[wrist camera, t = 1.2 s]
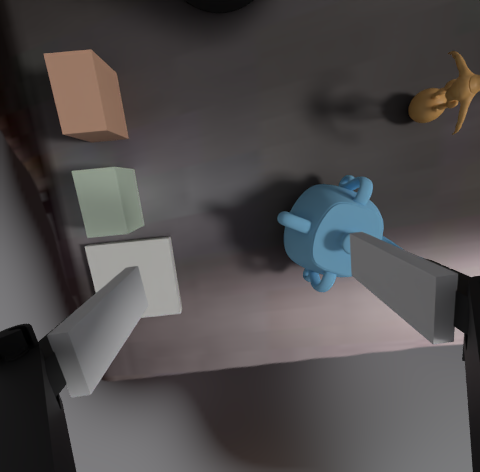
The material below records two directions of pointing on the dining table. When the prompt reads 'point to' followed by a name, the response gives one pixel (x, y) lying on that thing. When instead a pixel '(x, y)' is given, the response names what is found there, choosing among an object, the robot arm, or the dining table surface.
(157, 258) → the base plate
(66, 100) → the terracotta brick
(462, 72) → the figurine
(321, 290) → the teapot
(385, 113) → the dining table surface
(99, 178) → the sage brick
